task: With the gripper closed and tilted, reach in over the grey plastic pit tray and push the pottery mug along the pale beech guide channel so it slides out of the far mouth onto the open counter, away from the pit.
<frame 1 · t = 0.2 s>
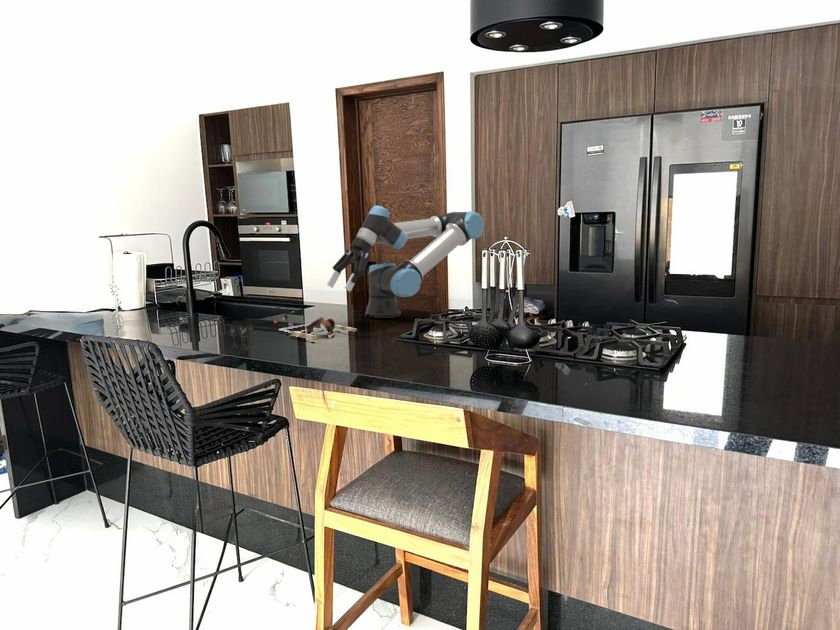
hand: (338, 288, 240), 16 cm above the worktop, tool tilted 35°, fingers open, 13 cm apart
pottery mug: (322, 337, 227), on the worktop
guide channel: (329, 337, 224), on the worktop
pit tray: (301, 331, 236), on the worktop
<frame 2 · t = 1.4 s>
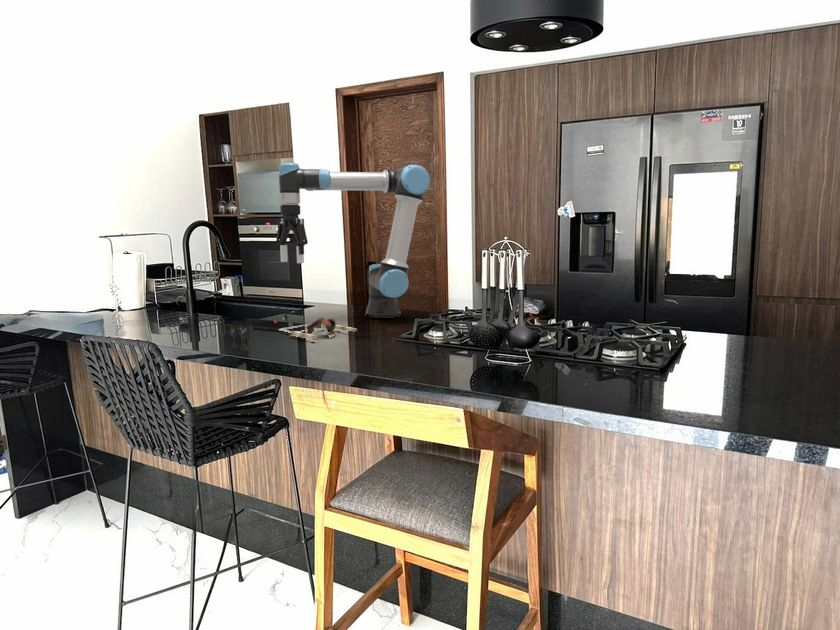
hand: (292, 262, 241), 26 cm above the worktop, tool pointing down, fingers open, 10 cm apart
nothing on the worktop moved.
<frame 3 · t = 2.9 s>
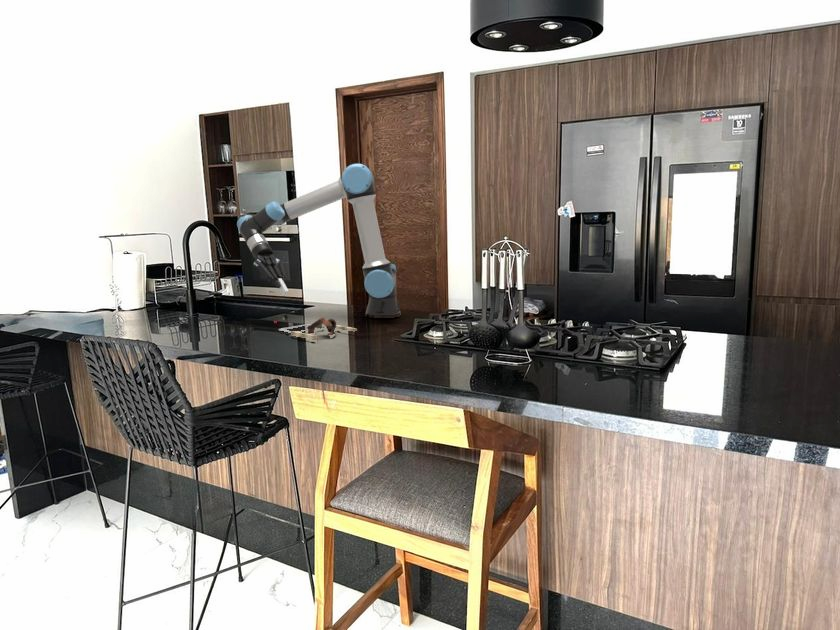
hand: (285, 293, 240), 14 cm above the worktop, tool tilted 45°, fingers closed
nothing on the worktop moved.
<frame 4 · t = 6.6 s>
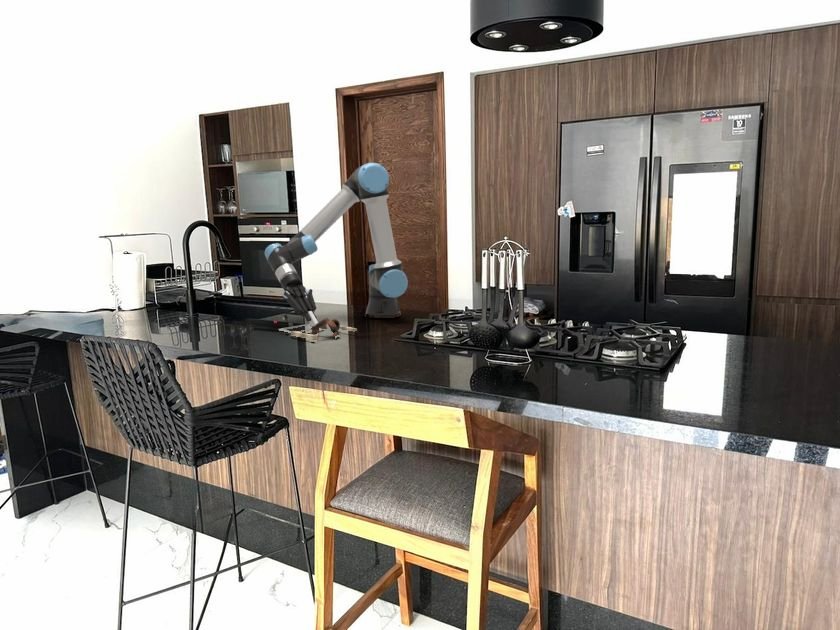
hand: (316, 327, 228), 3 cm above the worktop, tool tilted 45°, fingers closed
pottery mug: (328, 338, 225), on the worktop, touching gripper
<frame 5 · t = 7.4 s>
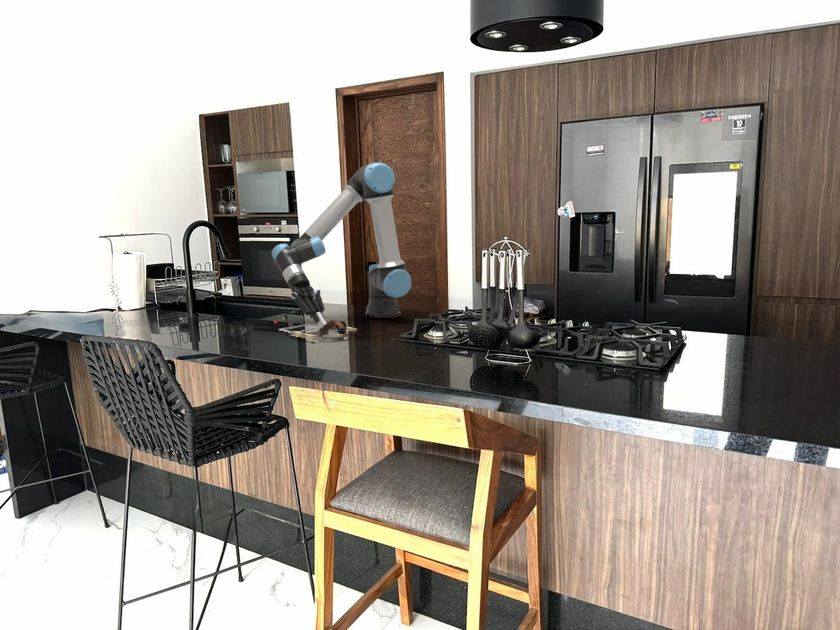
hand: (324, 328, 225), 3 cm above the worktop, tool tilted 45°, fingers closed
pottery mug: (336, 339, 222), on the worktop, touching gripper
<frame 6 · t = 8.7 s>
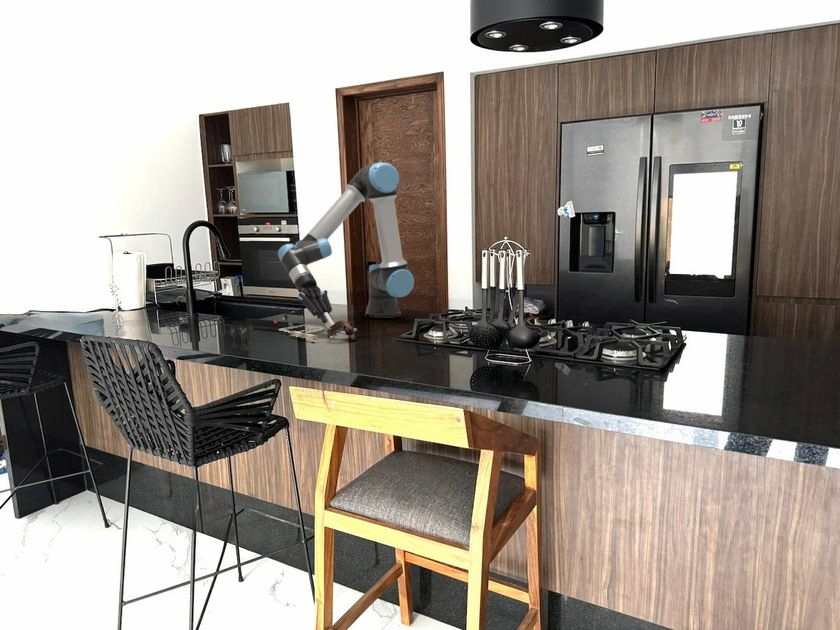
hand: (332, 328, 223), 4 cm above the worktop, tool tilted 45°, fingers closed
pottery mug: (343, 340, 220), on the worktop, touching gripper
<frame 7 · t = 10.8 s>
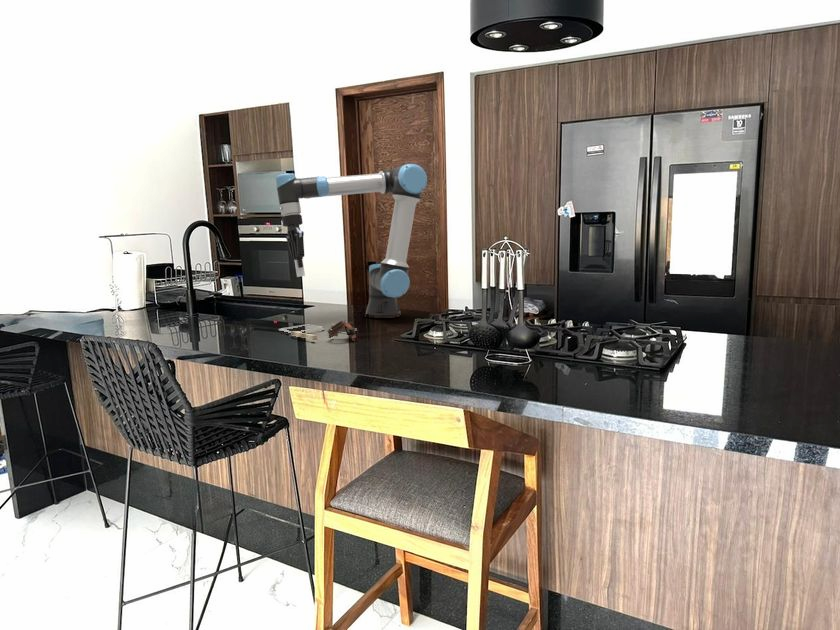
hand: (301, 276, 238), 21 cm above the worktop, tool pointing down, fingers closed
pottery mug: (344, 341, 220), on the worktop
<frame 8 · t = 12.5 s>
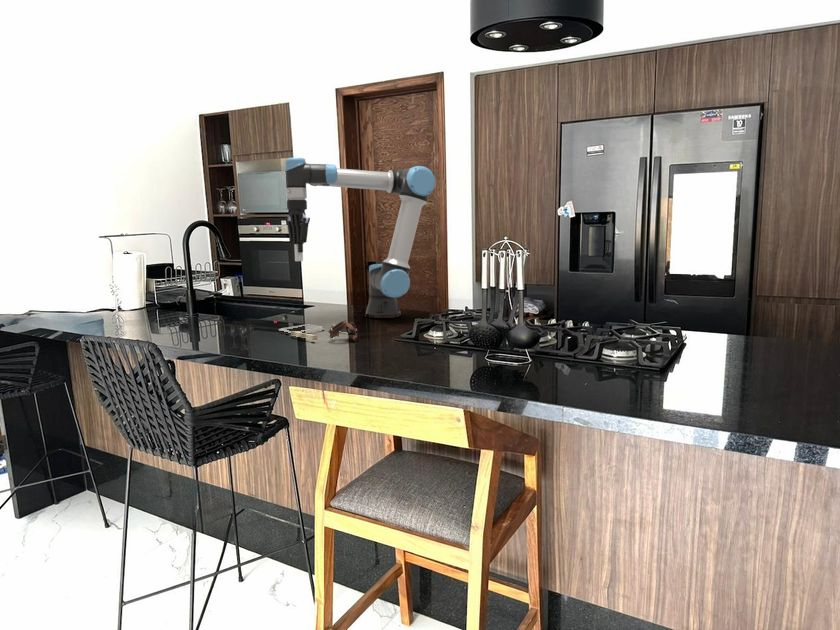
hand: (299, 260, 241), 26 cm above the worktop, tool pointing down, fingers closed
nothing on the worktop moved.
at the end: pottery mug inside the target area (2.0 cm from its centre), on the worktop; pottery mug tilted 0°; pottery mug moved 12.5 cm from its start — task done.
